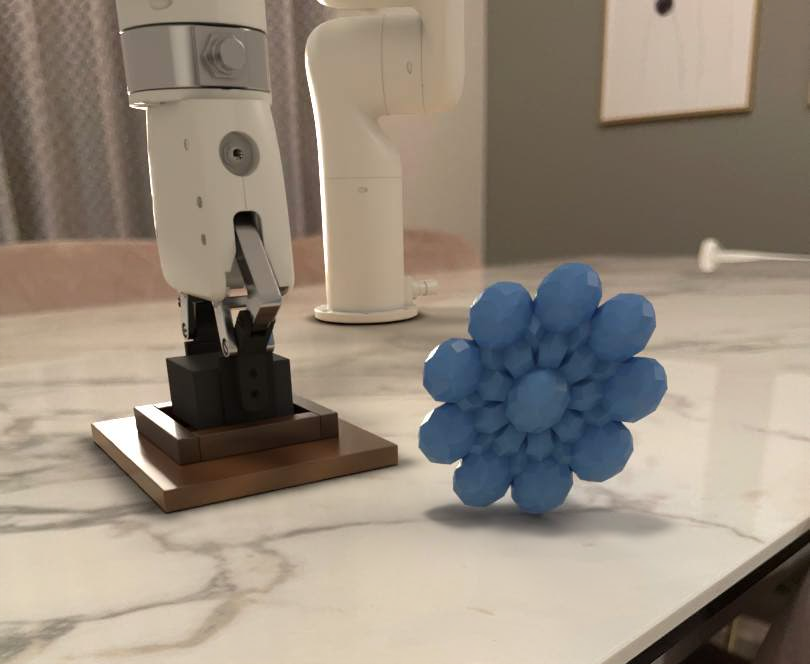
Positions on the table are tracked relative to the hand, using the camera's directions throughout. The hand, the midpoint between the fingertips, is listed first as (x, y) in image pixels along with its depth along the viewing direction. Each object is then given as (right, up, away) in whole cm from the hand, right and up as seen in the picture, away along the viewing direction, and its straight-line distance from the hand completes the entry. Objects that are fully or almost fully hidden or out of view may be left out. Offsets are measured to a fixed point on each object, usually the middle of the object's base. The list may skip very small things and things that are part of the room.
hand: (233, 408), depth 52 cm
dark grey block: (0, 0, 0) cm, 0 cm away
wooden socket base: (0, -3, +1) cm, 3 cm away
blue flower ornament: (+17, -7, -9) cm, 20 cm away
